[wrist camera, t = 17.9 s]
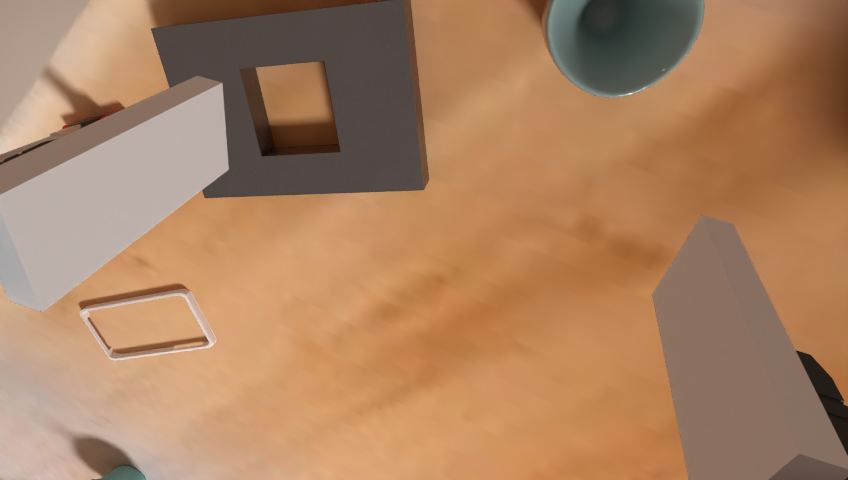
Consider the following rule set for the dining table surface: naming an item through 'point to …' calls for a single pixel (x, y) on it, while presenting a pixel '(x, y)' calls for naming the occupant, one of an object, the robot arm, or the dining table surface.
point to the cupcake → (123, 474)
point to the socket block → (349, 89)
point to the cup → (619, 41)
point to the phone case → (178, 292)
